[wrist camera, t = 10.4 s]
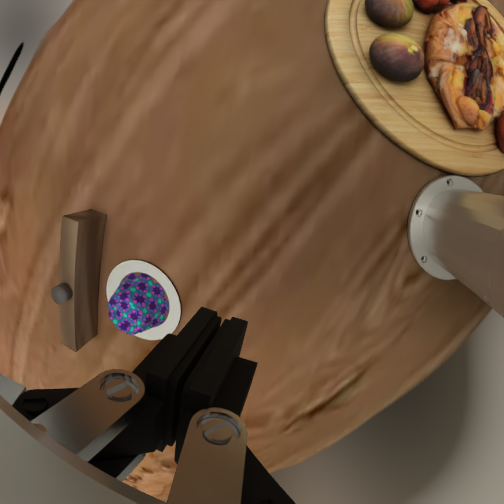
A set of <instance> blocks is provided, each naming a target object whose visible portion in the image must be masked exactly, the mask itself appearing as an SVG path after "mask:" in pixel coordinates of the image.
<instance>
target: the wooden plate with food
mask: <svg viewBox="0 0 504 504" xmlns="http://www.w3.org/2000/svg"><path fill="white" fill-rule="evenodd" d="M324 26H325V37H326V43H327V46H328V50H329V53H330V56H331V59H332V62H333V64H334V67H335V69H336V71H337V73H338V75H339V77H340V79H341V81H342V83H343V84H344V86H345V88H346V89H347V91H348V93H349V94H350V96H351V97H352V98H353V100H354V101H355V103H356V104H357V105H358V107H359V108H360V109H361V110H362V112H363V113H364V114H365V115H366V116H367V118H368V119H369V120H370V121H371V122H372V123H373V124H374V125H375V126H376V127H377V128H378V129H379V130H380V131H381V132H382V133H383V134H384V135H385V136H386V137H388V138H389V139H390V140H391V141H393V142H394V143H395V144H396V145H398V146H399V147H400V148H402V149H403V150H405V151H406V152H408V153H409V154H411V155H412V156H414V157H415V158H417V159H418V160H420V161H422V162H424V163H426V164H428V165H430V166H433V167H435V168H437V169H440V170H442V171H446V172H449V173H453V174H457V175H462V176H485V175H491V174H494V173H497V172H500V171H502V170H504V18H503V17H502V15H501V14H500V13H499V12H498V11H497V10H496V9H495V8H494V7H493V6H492V5H491V4H490V3H489V2H488V1H487V0H328V1H327V5H326V10H325V18H324Z"/></svg>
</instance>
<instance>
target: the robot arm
mask: <svg viewBox="0 0 504 504" xmlns="http://www.w3.org/2000/svg"><path fill="white" fill-rule="evenodd" d="M447 180H448V184H447ZM416 210H418V213H417V214H416ZM407 234H408V242H409V246H410V249H411V252H412V254H413V256H414V258H415V260H416V261H417V263H418V264H419V265H420V267H421V268H423V269H424V270H425V271H426V272H427V273H429V274H430V275H432V276H433V277H436V278H438V279H443V280H454V279H457V280H459V281H460V282H461V283H463V284H464V285H465V286H466V287H468V288H469V289H470V290H471V291H473V292H474V293H475V294H476V295H477V296H479V297H480V298H481V299H482V300H484V301H485V302H486V303H487V304H488V305H489V306H491V307H492V308H493V309H494V310H495V311H497V312H498V313H499V314H500V315H502V316H503V317H504V196H502V195H496V194H490V193H484V192H483V191H482V189H481V188H480V187H479V186H478V185H477V184H476V183H474V182H473V181H472V180H470V179H468V178H465V177H463V176H457V175H446V176H441V177H438V178H436V179H434V180H432V181H431V182H429V183H428V184H427V185H426V186H424V188H423V189H422V190H421V191H420V192H419V193H418V195H417V197H416V199H415V200H414V202H413V205H412V207H411V210H410V213H409V218H408V229H407ZM422 257H423V259H421V258H422ZM220 324H221V317H218V316H217V312H216V311H213V310H210V309H207V308H204V307H201V308H200V309H199V310H198V312H197V313H196V314H195V315H194V316H193V317H192V319H191V320H190V321H189V322H188V323H187V324H186V326H185V327H184V328H183V329H182V330H181V331H180V333H179V334H178V335H177V336H176V335H173V334H170V333H169V334H167V335H166V336H165V337H164V338H163V339H162V340H161V341H160V342H159V343H158V344H157V345H156V347H155V348H154V349H153V350H152V351H151V352H150V353H149V354H148V355H147V356H146V358H145V359H144V360H143V361H142V362H141V363H140V364H139V365H138V366H137V367H136V368H135V370H134V371H133V372H132V373H131V372H129V371H126V370H122V369H112V370H107V371H104V372H102V373H100V374H99V375H97V376H96V377H95V378H93V379H92V380H90V381H89V382H87V383H86V384H84V385H83V386H82V387H80V388H66V389H34V390H28V391H27V390H26V387H25V386H23V385H21V384H19V383H17V382H15V381H13V380H11V379H9V378H8V377H6V376H4V375H2V374H0V504H295V502H294V501H293V500H292V499H291V498H290V497H289V496H288V495H287V493H286V492H285V491H284V490H283V489H282V488H281V487H280V486H279V484H278V483H277V482H276V481H275V480H274V479H273V477H272V476H271V475H270V474H269V473H268V471H267V470H266V469H265V468H264V467H263V465H262V464H261V463H260V462H259V460H258V459H257V458H256V457H255V456H254V454H253V453H252V452H251V450H250V449H249V448H248V447H247V445H246V443H247V427H246V425H245V423H244V421H243V420H242V419H241V418H240V415H241V412H242V410H243V407H244V404H245V401H246V398H247V395H248V392H249V389H250V386H251V383H252V380H253V376H254V373H255V370H256V367H257V362H253V361H250V360H247V359H243V358H240V357H239V355H240V351H241V348H242V344H243V340H244V336H245V332H246V328H247V324H248V321H245V320H242V319H238V318H235V317H232V318H231V320H228V319H225V320H224V322H223V323H222V325H221V327H220ZM175 441H176V448H175V462H176V463H177V468H176V472H175V475H174V479H173V482H172V485H171V489H170V492H169V496H168V499H167V502H164V501H162V500H159V499H157V498H155V497H153V496H150V495H148V494H146V493H144V492H141V491H139V490H137V489H135V488H133V487H131V486H129V485H127V484H125V483H123V482H122V481H123V480H124V479H125V478H126V477H127V476H128V475H129V474H130V473H131V472H132V471H133V470H134V469H135V468H136V467H137V465H138V464H139V463H140V462H141V461H142V460H143V459H144V457H145V455H146V453H149V452H154V451H155V450H156V449H157V450H159V451H161V452H163V450H164V449H165V447H166V445H169V446H173V444H174V443H175Z"/></svg>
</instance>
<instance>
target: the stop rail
mask: <svg viewBox="0 0 504 504" xmlns="http://www.w3.org/2000/svg"><path fill="white" fill-rule="evenodd" d="M105 222H106V214H103V213H100V212H97V211H94V210H91V209H90V210H86V211H81V212H77V213H73V214H69V215H64V216H62V226H61V240H60V260H59V285H57V286H56V287H54V288H52V290H51V295H52V298H53V300H54V301H55V302H56V303H57V304H59V307H60V327H61V340H62V344H63V345H65V346H67V347H68V348H70V349H72V350H73V351H75V352H77V351H78V350H79V349H80V348H81V347H83V346H84V345H85V344H86V343H87V342H89V341H90V340H91V339H92V338H93V337H95V336H96V335H97V314H98V292H99V277H100V265H101V254H102V245H103V237H104V229H105Z"/></svg>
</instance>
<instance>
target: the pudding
mask: <svg viewBox="0 0 504 504" xmlns="http://www.w3.org/2000/svg"><path fill="white" fill-rule="evenodd" d="M132 272H142V273H146V274H148V275H150V276H152V277H153V278H155V279H156V280H157V281H158V282H159V283H160V284H161V285H162V286H163V288H164V290H165V291H166V293H167V296H168V299H169V304H170V311H169V315H168V317H167V319H166V321H165V322H164V320H165V315H164V314H165V313H167V312H168V310H169V304H168V302H167V300H166V299H165V298H164V295H165V292H164V290H163V288H162V287H161V286H160V285H159V284H158V283H154V282H153V281H152V279H151V277H150V276H148V275H146V274H141V275H139V276H137V275H135V274H129V273H132ZM127 274H129V275H128V276H127V277H126V278H125V279H124V280H123V282H122V283H121V284H120V282H121V280H122V279H123V278H124V277H125V276H126V275H127ZM119 284H120V285H119ZM107 299H108V308H109V310H110V311H109V317H110V319H111V320H112V321H113V322H114V323H115V326H116V327H117V328H118V329H119V330H121V331H125V332H126V333H127V334H130V335H135V336H137V337H140V338H143V339H147V340H159V339H163V338H164V337H165V336H166V335H167V334H169V333H170V334H171V333H172V332H173V331H174V330H175V329H176V327H177V325H178V323H179V320H180V313H181V309H180V302H179V297H178V295H177V292H176V290H175V288H174V286H173V285H172V283H171V281H170V280H169V279H168V278H167V276H166V275H165V274H164V273H162V272H161V271H160V270H159V269H158V268H156V267H155V266H153V265H151V264H149V263H147V262H143V261H139V260H129V261H125V262H122V263H120V264H119V265H117V266H116V267H115V268H114V269H113V270H112V272H111V274H110V275H109V278H108V281H107ZM163 322H164V323H163ZM161 323H163V324H162V325H160V326H158V327H155V326H157V325H159V324H161ZM153 327H154V328H153Z"/></svg>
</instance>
